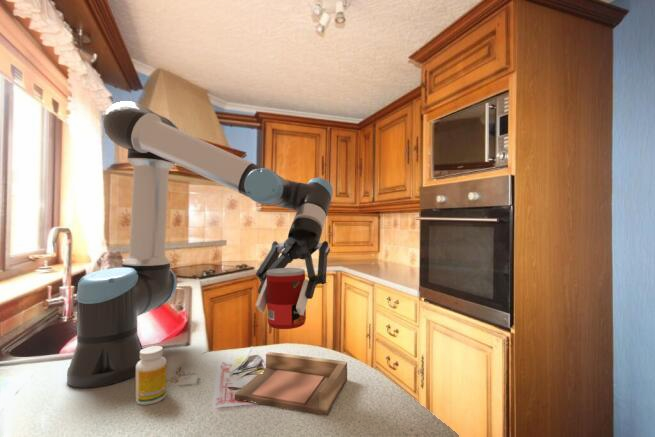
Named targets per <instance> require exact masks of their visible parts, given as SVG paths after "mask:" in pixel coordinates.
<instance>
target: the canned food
mask: <svg viewBox="0 0 655 437" xmlns="http://www.w3.org/2000/svg"><path fill="white" fill-rule="evenodd" d="M266 275H267V279H266V281H267V305H266V313H267V314H266V318H267V323H268V325H269V327H270V328H272V329H276V330H291V329H292V330H293V329H296V328H297V329H298V328H300V327H303V326H304V325H305V324H306V321H307V320H306V319H307V314H306V312H307V309H306V308H307V307H306V308H305V312H304V315H299V313H298V311H297V309H296V305H297V302H298V299H299V296H300V292H301V289H302V286H303V282H304V279H306V272H305V269H304V268H301V267H285V268H276V269H270V270H268V271H267V274H266Z"/></svg>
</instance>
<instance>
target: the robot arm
mask: <svg viewBox="0 0 655 437" xmlns="http://www.w3.org/2000/svg"><path fill="white" fill-rule="evenodd" d="M103 129H104V131H105V134H106V136H107V137H108V138H109V139H110V140H111V142H113V143H114V144H116V145H118V146H119V147H120V148H123V149H126V150H127V157H126V158H127V162H128V163H129V164H130V165H131V166H132V169H133V170H132V171H133V173H132V191H131V193H132V194H131V209H130V210H131V212H130V214H131V215H130V229H129V230H130V231H129V232H130V233H129V234H130V236H129V252H128V253H129V255H128V257H126V258H125V259H124V260H123V261H122V262H121V264H122V265H121V267H113V268H108V269H101V270H96V271H93V272H90V273H87V274H86V275H83V276H82V277H81V278H80V279H79V280H78V283H77V292H76V296H75V298H76V333H77V335H76V337H77V338H76V340H77V341H76V342H77V343H76V346H75V350H74V352H73V355H72V358H71V361H70V364H69V367H68V369H67V372H66V383H67V384H68V385H69V386H71V387H72V388H73V387H74V388H82V389H83V388H84V389H85V388H98V387H102V386H107V385H112V384H115V383H119V382H122V381H125V380H128V379H130V378H132V377H134V376H136V364H137V363H138V362H139V361H140V360H141V359H140V351H141V350H142V349H144V348H143V345H142V343H141V340H140V337H139V335H138V317H139V316H141V315H143V314H146V313H148V312H151V311H153V310H156V309H159V308H160V307H162V306H164V305H166V304H167V303H168V302H169V301H171V299H172V298H173V297H174V295H175V294H176V290H177V286H178V282H177V281H178V280H177V276H176V274H175V273H174V272H173V270H172V269H171V261H170V259H169V258H167V257H166V236H167V235H166V234H167V215H168V214H167V212H168V193H169V191H168V190H169V171H171V169H173V168H174V167H175V166H177V165H178V166H180V167H182V168H184V169H186V170H188V171H191V172H193V173H195V174H197V175H200V176H202V177H203V178H206V179H208V180H211V181H213V182H215V183H217V184H220V185H221V186H223V187H225V188H228V189H229V190H233V191H234V192H237V193H239V194H241V195H243V196H244V197H245V196H246V197H247V198H250V199H251V201H253V202H255V203H258V204H260V205H266V206H272V207H276V208H282V209H287V210H293V211H296V213H295V215H294V217H293V221H292V223H291V225H290V228H289V231H288V234H287V235H288V236H287V238H286V239H285V240H284V242H278V241H276V240H275V241H273V242H272V243H271V248H270V250H269V251H268V253H267V255H266V257H265V258H264V260H263V262H262V263H261V265H260V266H259V268H258V269H257V271H256V273H255V275H256V276H257V278H258V280H259V281H260V284H259V287H258V289H257V293H258V297H257V299H256V302H255V307H256V308H257V311H259V313H264V312H265V310H266V308H267V281H266V279H267V275H266V274H267V271H268V270H270V269H276V268H287V267H286V266H288V265H289V264H292V262H293V261H294V260H304V261H305V262H304V263H305V266H306V272H307V278H308V279H306V278H305V279H304V282H303V286H302V289H301V292H300V296H299V299H298V302H297V305H296V309H297V311H298V313H299V315H304V312H305V308H307V306H308V305H307V304H308V300H309V299H310V300H312V299H313V297H314V293H315V291H316V286H317V285H325V284H327V283H326V282H327V273H328V272H327V266H328V255H329V253H330V252H331V248H330V245H329V243H328V241H327V240H324V241H322V242H320V241H321V236H322V233H323V230H324V226H325V223H326V219H327V216H328V212H329V210H330V207H331V203H332V199H333V194H334V189H333V186H332V184H331V183H330V182H329V181H328V180H327V179H325V178H323V177H314V178H311V179H309V181H308V182H307V183H305V182H298V181H294V180H290V179H289V180H288V179H286V178H283V177H282V176H280V175H279V174H278V173H277V172H276V171H273V170H271V169H270V168H265V167H262V166H260V165H257V164H255V163H253V162H251V161H250V160H247V159H245V158H243V157H240V156H238V155H236V154H235V153H232V152H229V151H227V150H225V149H224V148H223V149H222V148H221V147H218V146H215V145H214V144H212V143H210V142H207V141H205V140H202V139H200V138H198V137H196V136H193V135H191V134H189V133H187V132H184V131H183V130H181V129H180V128H179V127H178V126H177V125H176V124H175V123H173V122H172V121H171V120H170V119H168V118H167V117H165V116H163V115H159V113H156V112H155V111H153V110H152V109H149V108H147V107H146V106H144V105H143V104H140V103H137V102H134V101H128V100H127V101H120V102H116V103H114V104H112V105H111V106H109V108H107V110H106V111H105V113H104V117H103ZM316 251H318V265H317V274H316V272H315V266H314V263H313V262H314V261H313V258H312V255H313V254H314V253H315V252H316Z"/></svg>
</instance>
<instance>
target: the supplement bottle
mask: <svg viewBox="0 0 655 437" xmlns="http://www.w3.org/2000/svg"><path fill="white" fill-rule="evenodd" d="M163 354H164V349H163V346H161V345H151V346H148V347H144V348H143V349H142V350H141V351H140V359H141V360H140V361H139V362H138V363H137V364H136V375H135V389H134V390H135V392H134V393H135V403H137V405H142V406H144V405H148V406H149V405H153V404H156V403H158V402H160V401H162V400H164V398H165V397H166V395H167V359H166V357H164V356H163Z"/></svg>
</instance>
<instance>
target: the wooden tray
mask: <svg viewBox="0 0 655 437" xmlns="http://www.w3.org/2000/svg"><path fill="white" fill-rule="evenodd" d="M263 369H264V372H263V374H259V373H257V374H256V375H255V376H254V377H253V378H252V379H250V380H249V381H248V382H247V383H246V384H245V385H243V387H241V388H240V389H239V390H238V391H236V392H235V393H234V400H235V399H239V400H238V401H241V400H246V401H253V402H256V403H255V404H257V403H258V405H264V406H269V407H273V408H281V409H286V410H292V411H295V412H301V413H308V414H314V415H318V416H324V417H328V415H329V413H330V412H331V410H332V409H333V407H334V405H335V403H336V401H337V399H338V398H339V396H340V394H341V393H342V391H343V389H344V387H345V385H346V383H347V382H348V361H346V360H345V361H344V360H339V359H338V360H337V359H328V358H321V357H313V356H306V355H297V354H289V353H282V352H274V351H273V352H272V351H268V352H267V353H266V354H265V368H263ZM246 401H245V402H246Z"/></svg>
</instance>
